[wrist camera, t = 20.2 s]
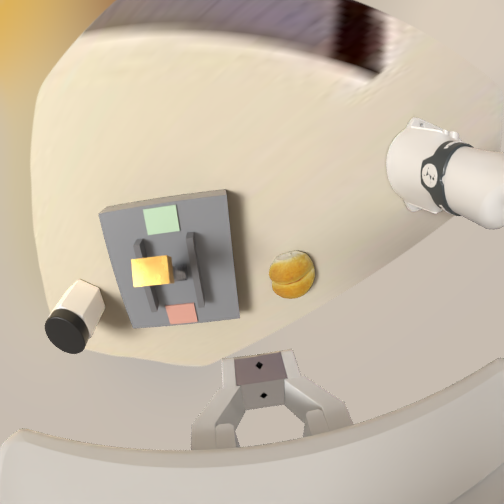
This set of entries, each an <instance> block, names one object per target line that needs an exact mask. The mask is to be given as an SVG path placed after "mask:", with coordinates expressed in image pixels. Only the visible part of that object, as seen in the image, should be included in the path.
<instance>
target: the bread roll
mask: <svg viewBox="0 0 504 504" xmlns="http://www.w3.org/2000/svg"><path fill="white" fill-rule="evenodd" d="M269 276H270V278H271V280H272V288H273V291H274V292H275V293H276V294H277V295H279V296H281V297H283V298H289V299H292V298H298V297H301V296H303V295H304V294H305V293H306V292H307V291H308V290H309V289H310V288H311V286H312V284H313V281H314V278H315V270H314V266H313V263H312V260H311V259H310V257H309V256H308V255H307V254H306V253H304V252H300V251H292V252H287V253H284V254H281V255H279V256H277V257H276V258H275V260H274V261H273V263H272V265H271V266H270V270H269Z"/></svg>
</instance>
